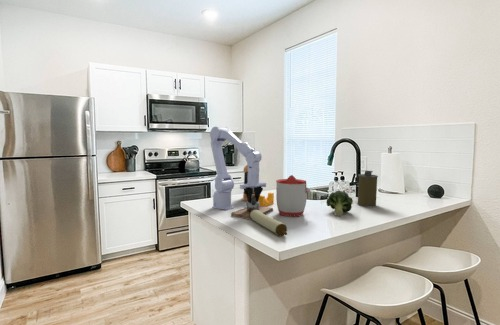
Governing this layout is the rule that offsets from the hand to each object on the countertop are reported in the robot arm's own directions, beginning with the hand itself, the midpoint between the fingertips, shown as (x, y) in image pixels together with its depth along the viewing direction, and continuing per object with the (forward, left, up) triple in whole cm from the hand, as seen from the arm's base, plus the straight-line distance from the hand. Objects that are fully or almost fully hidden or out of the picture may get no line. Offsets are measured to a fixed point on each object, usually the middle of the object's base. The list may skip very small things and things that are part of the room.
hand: (253, 201), depth 148 cm
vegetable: (+38, +24, -6) cm, 45 cm away
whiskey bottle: (-17, +28, -6) cm, 33 cm away
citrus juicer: (+18, +9, -6) cm, 21 cm away
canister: (+47, +51, -6) cm, 70 cm away
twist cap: (0, 0, -4) cm, 4 cm away
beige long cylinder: (+16, -17, -6) cm, 25 cm away
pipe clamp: (-3, +20, -6) cm, 21 cm away
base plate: (0, 0, -6) cm, 6 cm away
